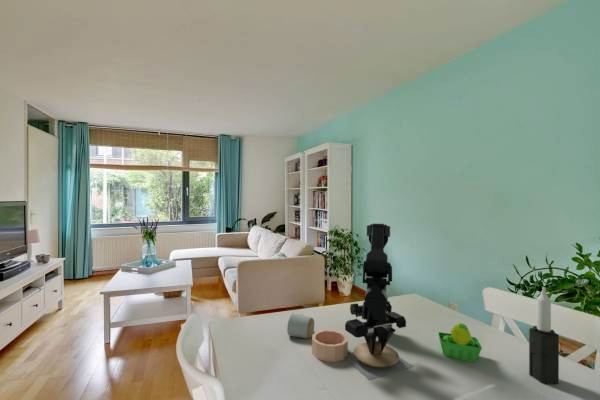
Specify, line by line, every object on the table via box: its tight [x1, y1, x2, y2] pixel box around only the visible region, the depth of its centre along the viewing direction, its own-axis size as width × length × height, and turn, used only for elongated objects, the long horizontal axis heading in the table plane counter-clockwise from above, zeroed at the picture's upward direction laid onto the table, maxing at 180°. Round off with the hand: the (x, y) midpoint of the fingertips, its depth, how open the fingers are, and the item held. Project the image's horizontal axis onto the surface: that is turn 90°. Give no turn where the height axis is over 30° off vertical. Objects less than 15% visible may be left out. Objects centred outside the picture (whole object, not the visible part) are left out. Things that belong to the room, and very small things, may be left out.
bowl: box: [311, 329, 349, 363], centre depth 93 cm, size 11×11×5 cm
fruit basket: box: [437, 322, 483, 363], centre depth 93 cm, size 11×9×11 cm
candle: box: [528, 286, 560, 385], centre depth 81 cm, size 5×5×25 cm
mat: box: [344, 351, 415, 381], centre depth 89 cm, size 16×14×1 cm
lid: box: [353, 340, 400, 367], centre depth 89 cm, size 13×13×4 cm
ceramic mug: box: [286, 312, 315, 339], centre depth 107 cm, size 11×8×8 cm
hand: (375, 352), depth 89 cm, fingers closed on lid, 3 cm apart
